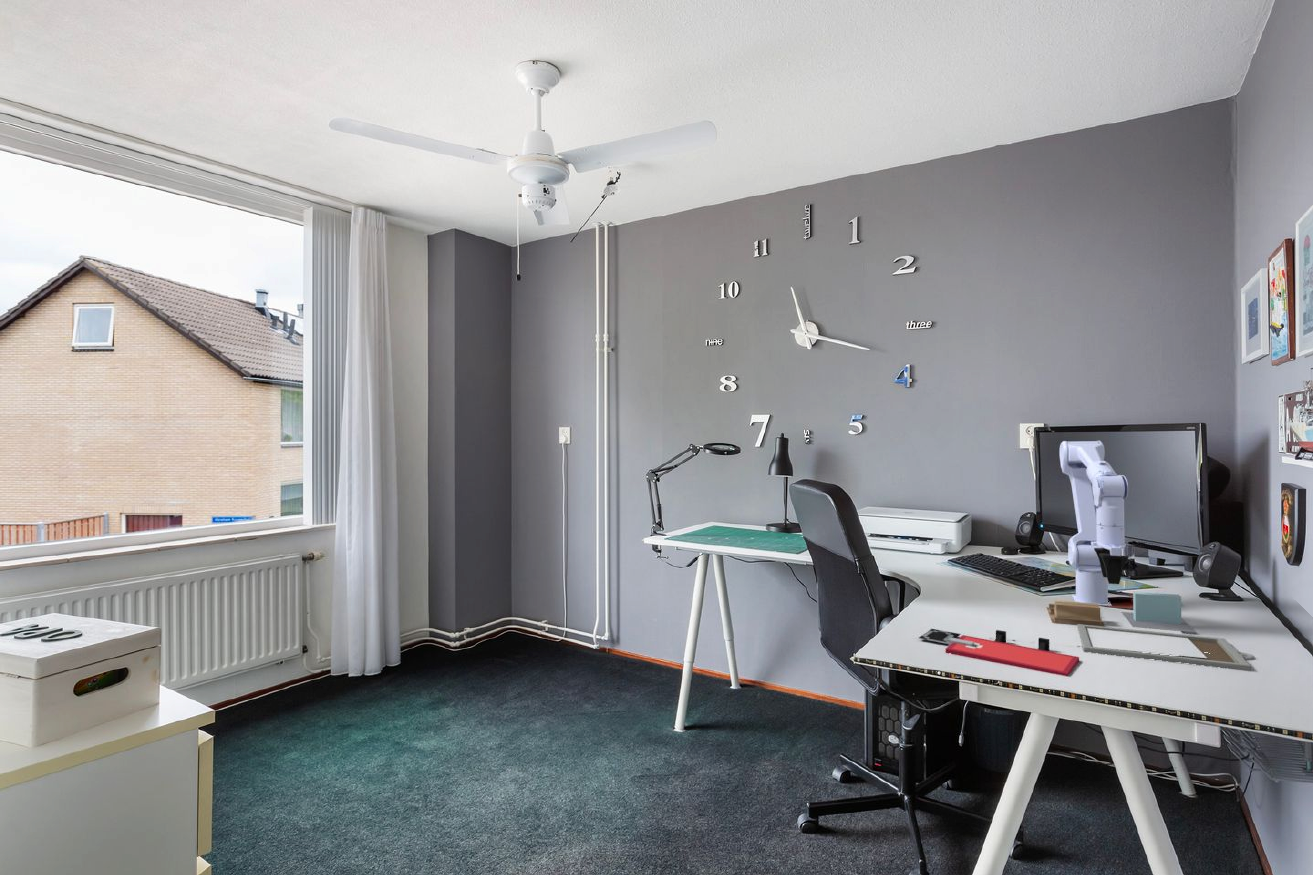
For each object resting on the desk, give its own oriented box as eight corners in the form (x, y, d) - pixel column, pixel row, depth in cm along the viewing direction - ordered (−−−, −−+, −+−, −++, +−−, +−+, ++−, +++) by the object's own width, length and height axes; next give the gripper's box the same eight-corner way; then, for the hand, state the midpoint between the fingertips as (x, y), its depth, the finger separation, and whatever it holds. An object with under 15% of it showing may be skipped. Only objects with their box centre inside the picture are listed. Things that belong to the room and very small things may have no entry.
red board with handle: (934, 630, 162) (910, 647, 150) (934, 618, 161) (910, 635, 150) (1082, 658, 142) (1067, 680, 131) (1082, 645, 142) (1067, 666, 130)
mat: (1121, 613, 172) (1121, 611, 172) (1180, 618, 167) (1180, 616, 167) (1132, 628, 160) (1132, 626, 160) (1196, 634, 154) (1196, 632, 154)
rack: (1046, 609, 178) (1046, 602, 178) (1096, 613, 173) (1096, 606, 173) (1052, 624, 164) (1052, 617, 164) (1107, 629, 159) (1107, 622, 159)
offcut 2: (1055, 619, 167) (1055, 602, 167) (1099, 622, 163) (1098, 605, 163) (1056, 621, 165) (1056, 604, 165) (1100, 624, 161) (1100, 608, 161)
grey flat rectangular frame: (1076, 623, 161) (1240, 639, 147) (1076, 630, 161) (1240, 647, 147) (1083, 647, 144) (1269, 667, 130) (1083, 654, 144) (1269, 676, 130)
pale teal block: (1133, 618, 166) (1133, 591, 166) (1178, 622, 163) (1178, 594, 162) (1135, 620, 164) (1135, 593, 164) (1181, 624, 161) (1181, 596, 161)
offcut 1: (1054, 616, 169) (1054, 600, 169) (1097, 620, 165) (1097, 603, 165) (1055, 618, 167) (1055, 602, 167) (1098, 622, 164) (1098, 605, 164)
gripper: (1086, 520, 176) (1087, 573, 176) (1095, 528, 163) (1096, 585, 163) (1119, 521, 173) (1120, 575, 173) (1131, 529, 160) (1132, 587, 160)
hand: (1110, 580), depth 168 cm, fingers open, 7 cm apart
